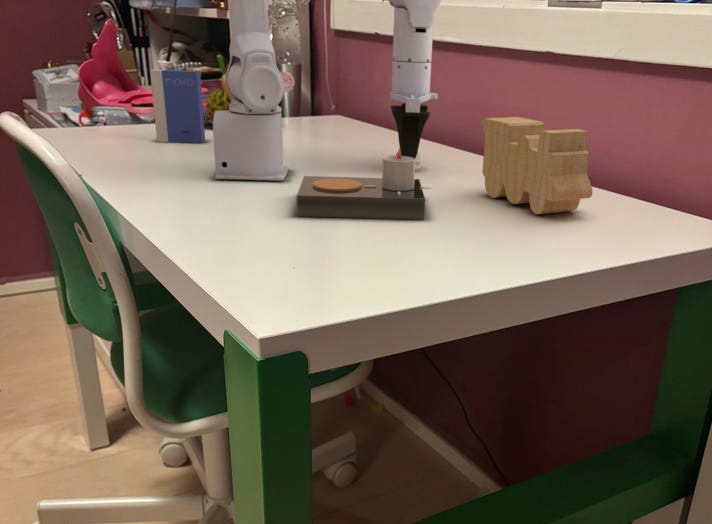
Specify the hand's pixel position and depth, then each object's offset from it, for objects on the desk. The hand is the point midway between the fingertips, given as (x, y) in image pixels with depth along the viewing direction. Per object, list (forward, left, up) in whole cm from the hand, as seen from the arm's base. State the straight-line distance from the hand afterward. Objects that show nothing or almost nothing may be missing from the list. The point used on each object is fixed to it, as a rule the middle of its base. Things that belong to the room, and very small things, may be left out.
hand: (408, 155), depth 114 cm
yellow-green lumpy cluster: (-33, +40, -2) cm, 52 cm away
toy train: (+15, -21, -2) cm, 26 cm away
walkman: (-39, +19, -2) cm, 43 cm away
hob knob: (-2, -25, +1) cm, 25 cm away
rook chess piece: (0, 0, -2) cm, 2 cm away
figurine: (-27, +12, -2) cm, 30 cm away
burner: (-10, -25, 0) cm, 27 cm away
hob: (-7, -25, -2) cm, 26 cm away
